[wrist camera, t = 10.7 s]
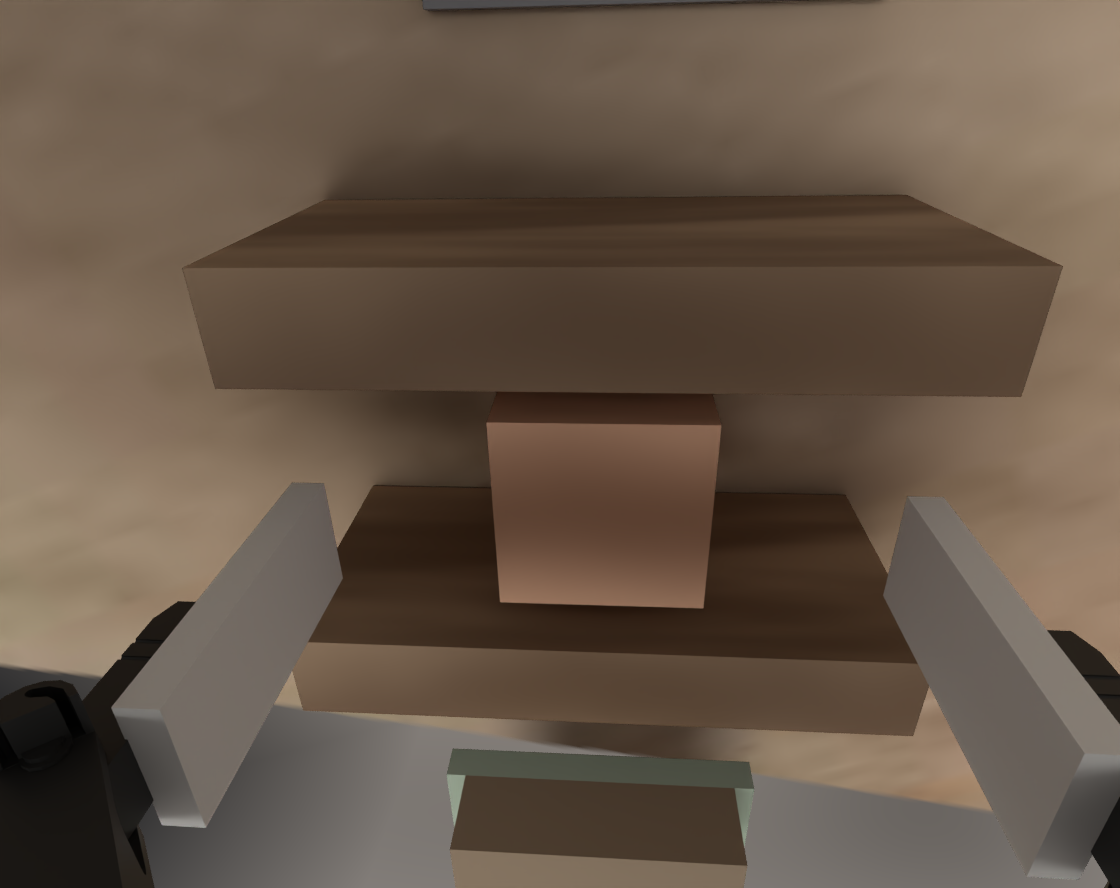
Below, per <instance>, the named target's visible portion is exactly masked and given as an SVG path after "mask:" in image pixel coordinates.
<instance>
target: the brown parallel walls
mask: <svg viewBox="0 0 1120 888" xmlns="http://www.w3.org/2000/svg"><path fill="white" fill-rule="evenodd" d="M1062 268H1063V266H1061V265H1059V264H1057V263H1055V262H1052V261H1050V260H1048V259H1046V258H1044V257H1042V256H1039V255H1037V254H1035V253H1033V252H1031V251H1028V250H1026V249H1024V248H1022V247H1020V246H1017V245H1015V244H1013V243H1011V242H1009V241H1006V240H1004V239H1002V238H1000V237H998V236H995V235H993V234H991V233H989V232H987V231H984V230H982V229H980V228H978V227H976V226H974V225H971V224H969V223H967V222H965V221H963V220H960V219H958V218H956V217H954V216H952V215H949V214H947V213H945V212H943V211H941V210H938V209H936V208H934V207H932V206H930V205H927V204H925V203H923V202H921V201H919V200H916V199H914V198H912V197H910V196H908V195H858V196H744V197H630V198H516V199H402V200H324V201H322V202H319V203H317V204H315V205H313V206H311V207H309V208H307V209H305V210H303V211H301V212H299V213H296V214H294V215H292V216H290V217H288V218H286V219H284V220H282V221H280V222H278V223H275V224H273V225H271V226H269V227H267V228H265V229H263V230H261V231H259V232H257V233H255V234H252V235H250V236H248V237H246V238H244V239H242V240H240V241H238V242H236V243H234V244H231V245H229V246H227V247H225V248H223V249H221V250H219V251H217V252H215V253H213V254H211V255H208V256H206V257H204V258H202V259H200V260H198V261H196V262H194V263H192V264H190V265H187V266H185V267H183V268H182V269H183V273H184V277H185V280H186V284H187V288H188V291H189V295H190V299H191V302H192V306H193V310H194V313H195V317H196V321H197V324H198V328H199V332H200V335H201V339H202V342H203V346H204V350H205V353H206V357H207V361H208V364H209V368H210V372H211V375H212V379H213V383H214V386H215V389H296V390H395V391H493V392H592V393H691V394H790V395H889V396H988V397H1021V396H1022V393H1023V390H1024V387H1025V384H1026V380H1027V377H1028V374H1029V371H1030V368H1031V365H1032V362H1033V359H1034V355H1035V352H1036V349H1037V346H1038V343H1039V340H1040V337H1041V333H1042V330H1043V327H1044V324H1045V321H1046V318H1047V315H1048V312H1049V308H1050V305H1051V302H1052V299H1053V296H1054V293H1055V290H1056V286H1057V283H1058V280H1059V277H1060V274H1061V271H1062ZM337 551H338V556H339V561H340V566H341V571H342V576H343V579H342V581H341V583H340V584H339V586H338V588H337V590H336V592H335V594H334V595H333V597H332V599H331V601H330V603H329V604H328V606H327V608H326V610H325V612H324V614H323V615H322V617H321V619H320V621H319V623H318V624H317V626H316V628H315V630H314V632H313V634H312V635H311V637H310V639H309V641H308V643H307V645H306V646H305V648H304V650H303V652H302V654H301V655H300V657H299V659H298V661H297V663H296V665H295V666H294V668H293V670H292V671H293V675H294V678H295V682H296V686H297V689H298V693H299V697H300V700H301V704H302V707H303V710H305V711H329V712H353V713H376V714H400V715H424V716H447V717H471V718H495V719H519V720H542V721H566V722H590V723H614V724H637V725H661V726H685V727H709V728H732V729H756V730H780V731H803V732H827V733H851V734H875V735H898V736H913V735H914V731H915V728H916V725H917V722H918V719H919V716H920V713H921V709H922V706H923V703H924V700H925V697H926V694H927V691H928V688H929V685H928V683H927V681H926V679H925V677H924V675H923V673H922V671H921V669H920V667H919V665H918V663H917V661H916V659H915V657H914V655H913V653H912V651H911V649H910V647H909V645H908V643H907V641H906V640H905V638H904V636H903V634H902V632H901V630H900V628H899V626H898V624H897V622H896V620H895V618H894V616H893V614H892V612H891V610H890V608H889V606H888V604H887V602H886V600H885V598H884V596H883V594H884V590H885V586H886V582H887V578H888V574H887V572H886V570H885V568H884V566H883V564H882V563H881V561H880V559H879V557H878V555H877V553H876V551H875V549H874V548H873V546H872V544H871V542H870V540H869V538H868V536H867V534H866V533H865V531H864V529H863V527H862V525H861V523H860V521H859V519H858V518H857V516H856V514H855V512H854V510H853V508H852V506H851V504H850V503H849V501H848V499H847V497H846V495H816V494H765V493H715V496H714V506H713V516H712V526H711V536H710V546H709V556H708V567H707V577H706V587H705V597H704V607H703V608H673V607H640V606H607V605H574V604H541V603H508V602H500V594H499V581H498V568H497V555H496V542H495V529H494V516H493V503H492V490H491V488H459V487H407V486H373V487H372V488H371V490H370V492H369V494H368V495H367V497H366V499H365V501H364V502H363V504H362V506H361V508H360V510H359V511H358V513H357V515H356V517H355V518H354V520H353V522H352V524H351V525H350V527H349V529H348V531H347V532H346V534H345V536H344V538H343V539H342V541H341V543H340V545H339V546H338V548H337Z"/></svg>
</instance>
